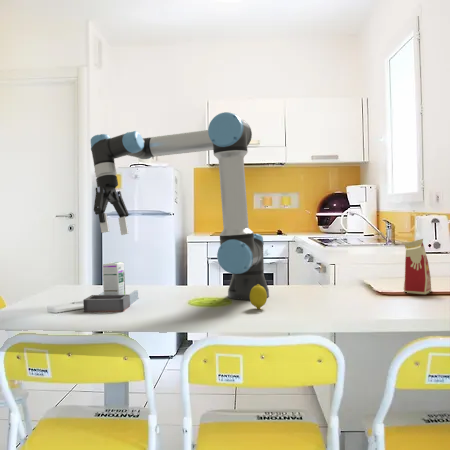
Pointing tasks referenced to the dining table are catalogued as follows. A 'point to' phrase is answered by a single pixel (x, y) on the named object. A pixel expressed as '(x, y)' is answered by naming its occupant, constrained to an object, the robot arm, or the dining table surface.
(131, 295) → the guide channel
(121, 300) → the trap bin
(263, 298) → the lemon
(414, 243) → the red paper bag
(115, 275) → the syrup box
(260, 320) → the dining table surface
